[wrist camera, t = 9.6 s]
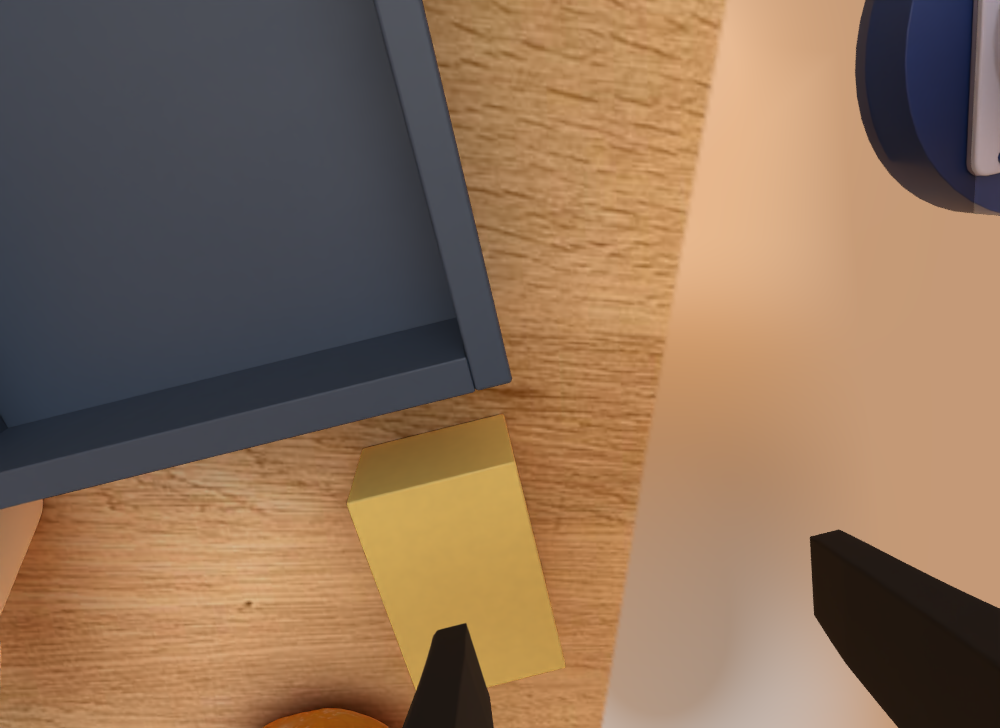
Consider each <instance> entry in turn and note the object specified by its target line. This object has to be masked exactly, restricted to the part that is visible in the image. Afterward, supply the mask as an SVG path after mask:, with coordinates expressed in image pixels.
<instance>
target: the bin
mask: <svg viewBox="0 0 1000 728" xmlns="http://www.w3.org/2000/svg"><path fill="white" fill-rule="evenodd" d="M511 380H512V377H511V372H510V368H509V364H508V360H507V356H506V351H505V347H504V343H503V339H502V334H501V330H500V326H499V322H498V318H497V313H496V309H495V305H494V301H493V297H492V292H491V288H490V284H489V280H488V275H487V271H486V267H485V263H484V259H483V254H482V250H481V246H480V242H479V238H478V233H477V229H476V225H475V221H474V216H473V212H472V208H471V204H470V200H469V195H468V191H467V187H466V183H465V179H464V174H463V170H462V166H461V162H460V157H459V153H458V149H457V145H456V141H455V136H454V132H453V128H452V124H451V120H450V115H449V111H448V107H447V103H446V98H445V94H444V90H443V86H442V82H441V77H440V73H439V69H438V65H437V61H436V56H435V52H434V48H433V44H432V40H431V35H430V31H429V27H428V23H427V18H426V14H425V10H424V6H423V2H422V0H0V509H4V508H8V507H12V506H17V505H21V504H25V503H29V502H33V501H37V500H41V499H45V498H49V497H53V496H57V495H61V494H65V493H69V492H73V491H77V490H81V489H85V488H89V487H93V486H97V485H101V484H105V483H109V482H113V481H117V480H121V479H125V478H129V477H133V476H137V475H142V474H146V473H150V472H154V471H158V470H162V469H166V468H170V467H174V466H178V465H182V464H186V463H190V462H194V461H198V460H202V459H206V458H210V457H214V456H218V455H222V454H226V453H230V452H234V451H238V450H242V449H246V448H250V447H254V446H258V445H262V444H266V443H271V442H275V441H279V440H283V439H287V438H291V437H295V436H299V435H303V434H307V433H311V432H315V431H319V430H323V429H327V428H331V427H335V426H339V425H343V424H347V423H351V422H355V421H359V420H363V419H367V418H371V417H375V416H379V415H383V414H387V413H391V412H395V411H400V410H404V409H408V408H412V407H416V406H420V405H424V404H428V403H432V402H436V401H440V400H444V399H448V398H452V397H456V396H460V395H464V394H468V393H472V392H474V391H475V389H476V390H482V389H486V388H490V387H494V386H498V385H502V384H506V383H509V382H511Z"/></svg>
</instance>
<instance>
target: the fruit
mask: <svg viewBox="0 0 1000 728" xmlns="http://www.w3.org/2000/svg"><path fill="white" fill-rule="evenodd" d="M262 728H389V727H388V726H387V725H386V724H384V723H382V722H380V721H378V720H376V719H374V718H372V717H369V716H366V715H363V714H360V713H357V712H355V711H350V710H345V709H340V708H323V709H320V710H312V711H309V712H302V713H298V714H295V715H291V716H288V717H283V718H280V719H277V720H275V721H274V722H271V723H269V724H267V725H266V726H264V727H262Z"/></svg>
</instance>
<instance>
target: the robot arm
mask: <svg viewBox="0 0 1000 728" xmlns="http://www.w3.org/2000/svg"><path fill="white" fill-rule="evenodd" d="M999 153H1000V0H974V4H973V26H972V49H971V71H970V93H969V116H968V138H967V161H966V164H967V169H968V171H969V172H970V173H971V174H973V175H975V176H987V175H992V174H996V173H1000V161H999V162H998V155H999ZM810 547H811V565H812V584H813V602H814V615H815V617H816V618H817V620H818V622H819V623H820V625H821V626H822V628H823V629H824V631H825V633H826V634H827V636H828V637H829V639H830V641H831V642H832V643H833V645H834V646H835V648H836V649H837V651H838V652H839V654H840V655H841V657H842V658H843V660H844V661H845V663H846V664H847V665H848V667H849V668H850V669H851V670H852V672H853V673H854V674H855V675H856V677H857V678H858V679H859V680H860V682H861V683H862V684H863V685H864V687H865V688H866V689H867V690H868V691H869V692H870V694H871V695H872V696H873V698H874V699H875V700H876V701H877V702H878V704H879V705H880V706H881V707H882V709H883V710H884V711H885V712H886V713H887V715H888V716H889V717H890V718H891V719H892V721H893V722H894V723H895V724H896V725H897V727H898V728H1000V608H997V607H995V606H993V605H991V604H988V603H986V602H984V601H982V600H980V599H978V598H976V597H973V596H971V595H969V594H967V593H965V592H962V591H961V590H959V589H957V588H954V587H952V586H950V585H948V584H946V583H944V582H942V581H940V580H938V579H936V578H934V577H932V576H930V575H928V574H926V573H924V572H922V571H920V570H918V569H916V568H914V567H912V566H910V565H908V564H906V563H904V562H902V561H900V560H898V559H896V558H894V557H893V556H890V555H889V554H887V553H885V552H883V551H880V550H879V549H877V548H875V547H873V546H871V545H869V544H867V543H865V542H863V541H861V540H859V539H857V538H855V537H853V536H851V535H849V534H847V533H845V532H843V531H841V530H836V531H831V532H827V533H823V534H819V535H816V536H811V537H810ZM402 728H494V727H493V719H492V711H491V703H490V696H489V693H488V690H487V687H486V683H485V680H484V677H483V674H482V671H481V668H480V665H479V661H478V658H477V655H476V652H475V649H474V646H473V642H472V639H471V636H470V633H469V630H468V627H467V624H466V623H464V624H460V625H456V626H452V627H448V628H444V629H440V630H437V631H436V633H435V634H434V635H433V638H432V642H431V646H430V649H429V653H428V656H427V660H426V663H425V666H424V669H423V672H422V675H421V678H420V681H419V684H418V687H417V690H416V693H415V696H414V698H413V701H412V704H411V706H410V709H409V711H408V714H407V717H406V719H405V722H404V725H403V727H402Z"/></svg>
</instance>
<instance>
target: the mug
mask: <svg viewBox="0 0 1000 728" xmlns="http://www.w3.org/2000/svg"><path fill="white" fill-rule="evenodd" d="M42 509H43V499H41V500H37V501H33V502H29V503H25V504H21V505H17V506H12V507H8V508H4V509H0V615H1V613H2V610H3V608H4V606H5V603H6V601H7V598H8V596H9V593H10V591H11V589H12V586H13V584H14V581H15V579H16V576H17V574H18V571H19V569H20V566H21V564H22V562H23V559H24V557H25V554H26V552H27V549H28V547H29V544H30V542H31V540H32V537H33V535H34V532H35V530H36V527H37V525H38V522H39V520H40V517H41V514H42ZM0 680H1V643H0Z"/></svg>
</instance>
